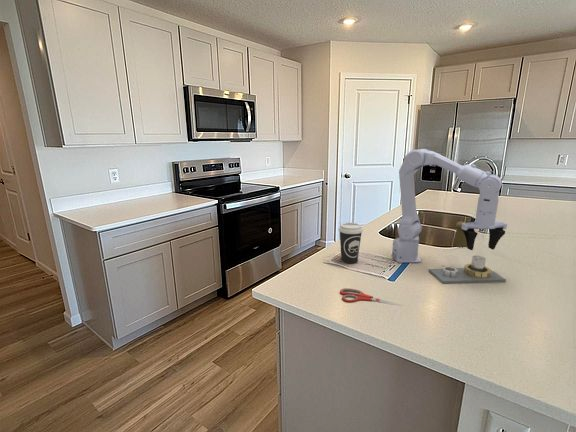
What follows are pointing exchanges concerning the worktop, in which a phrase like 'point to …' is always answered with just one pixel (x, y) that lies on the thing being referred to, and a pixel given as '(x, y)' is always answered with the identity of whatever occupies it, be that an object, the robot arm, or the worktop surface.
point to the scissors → (360, 297)
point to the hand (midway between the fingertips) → (480, 248)
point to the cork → (459, 236)
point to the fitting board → (464, 277)
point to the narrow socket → (449, 271)
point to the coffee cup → (350, 242)
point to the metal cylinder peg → (478, 263)
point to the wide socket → (476, 274)
